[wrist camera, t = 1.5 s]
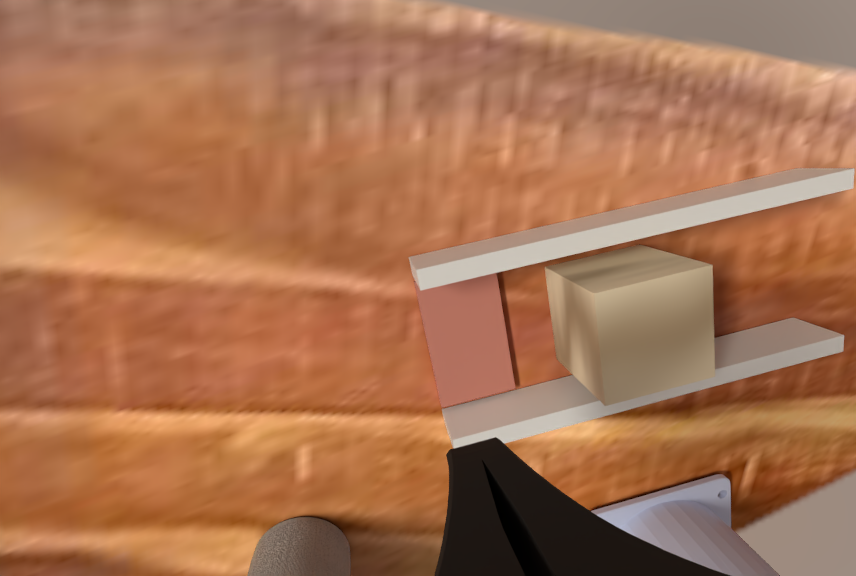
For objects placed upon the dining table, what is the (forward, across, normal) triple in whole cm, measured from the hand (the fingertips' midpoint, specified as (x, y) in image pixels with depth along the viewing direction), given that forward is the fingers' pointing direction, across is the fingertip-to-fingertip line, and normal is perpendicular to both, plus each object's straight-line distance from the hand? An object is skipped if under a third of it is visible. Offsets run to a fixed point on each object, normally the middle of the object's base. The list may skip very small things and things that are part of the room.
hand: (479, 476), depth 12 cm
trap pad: (+9, -2, 0) cm, 9 cm away
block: (+9, -8, 0) cm, 12 cm away
